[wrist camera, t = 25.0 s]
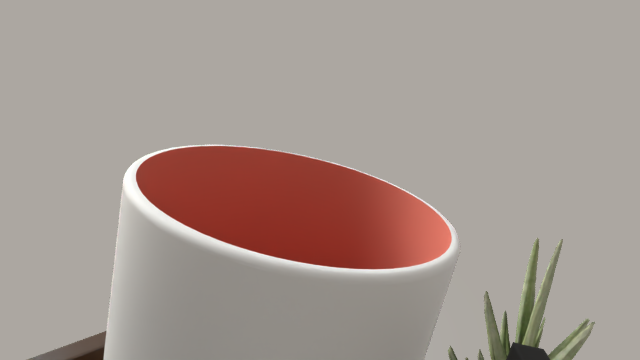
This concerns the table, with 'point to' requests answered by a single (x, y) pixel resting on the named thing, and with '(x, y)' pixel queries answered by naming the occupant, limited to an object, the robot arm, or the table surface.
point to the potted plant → (530, 317)
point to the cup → (272, 260)
